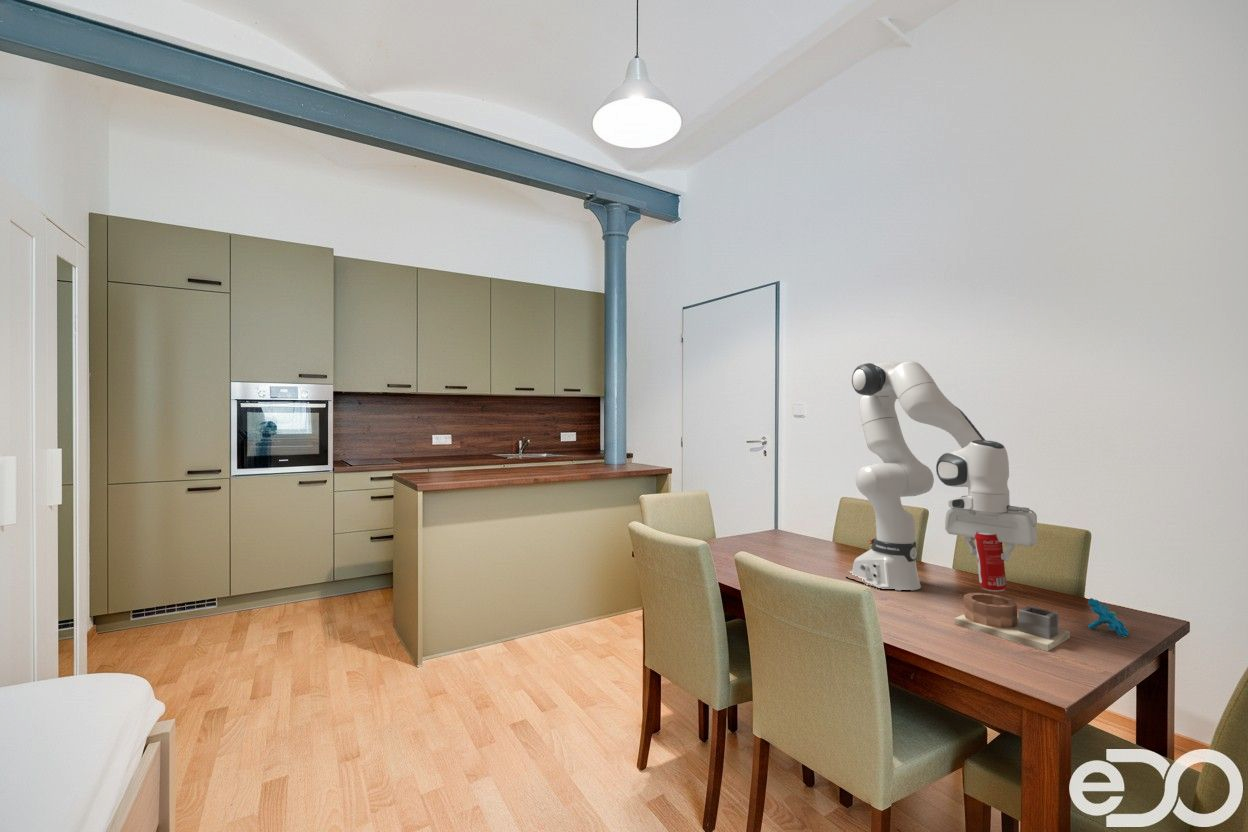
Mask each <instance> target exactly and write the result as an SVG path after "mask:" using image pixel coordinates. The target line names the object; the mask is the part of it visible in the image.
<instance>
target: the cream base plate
mask: <svg viewBox="0 0 1248 832" xmlns="http://www.w3.org/2000/svg"><path fill="white" fill-rule="evenodd" d="M1059 620H1060V619H1059V612H1056V611H1052V610H1049V609H1044V608H1040V607H1035V606H1032V605H1027V606H1026V607H1023V608H1021V609H1019V610H1018V604H1017V602H1016V601H1015V600H1013V599H1012V598H1008V597H1006V596H1002V595H998V594H993V593H992V594H991V593H984V592H968V593H966V594H964V595H963V614H961V615H959V616H957V617H954V620H953V622H954V625H957V626H960V627H962V628H963V627H964V628H967V629H970V630H974V631H978V632H979V633H984V634H986V635H987V634H988V635H990V636H994V637H998V638H1002V639H1004V640H1008V641H1011V642H1014V643H1018V644H1020V645H1021V644H1022V645H1023V646H1024V645H1025V646H1029V647H1032V648H1035V649H1038V650H1042V651H1045V652H1048V651H1050V650H1053V649H1054V648H1056V647H1057V646H1059V645H1060V644H1062V643H1063V642H1064V643H1065V642H1066V641H1067V640H1068V639H1070V638H1071V632H1070V631H1069V630H1065V629H1062V628H1059V623H1060V622H1059Z"/></svg>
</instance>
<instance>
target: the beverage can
mask: <svg viewBox="0 0 1248 832" xmlns="http://www.w3.org/2000/svg"><path fill="white" fill-rule="evenodd" d="M974 541H975V542H974V544H975V547H976V553H977V555H976V561H977V571H978V582H979V587H980V588H981V589H982V590H985V591H988V592H995V593H996V592H1003V591H1005V590H1006V589H1007V579H1006V578H1007V577H1006V569H1005V568H1006V567H1005V560H1001V553H1003V552H1004V547H1003V542H999V541H998V538H997V535H996V534H989V533H982V532H976V535H975V538H974Z"/></svg>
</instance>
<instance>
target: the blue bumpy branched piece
mask: <svg viewBox="0 0 1248 832" xmlns="http://www.w3.org/2000/svg"><path fill="white" fill-rule="evenodd" d="M1101 603H1102V602H1101V601H1100V600H1098V599H1094V598H1092V597H1090V598H1089V599H1088V605H1089V606H1090V607H1091V611H1092V612H1093V613H1094V614H1097V615H1098V618H1097V620H1095V621H1093V622H1092V623H1090V624H1088V625H1087V627H1088V628H1089V629H1090V628H1093V629H1095V628H1097V627H1098V626H1099V625H1100V626H1102V624H1103V625H1106V624H1108V625H1107V627H1108V628H1109V630H1111V631H1114V630H1115V633H1116V634H1117V635H1118V636H1120V637H1122V636H1123V637H1124V636H1127V637H1129V636H1130V635H1129V630H1128V629H1127V628H1126V627H1125V626H1126V625H1125V624H1124V622H1122V621H1121V620H1119V619H1118V616H1117V613H1116V612H1115V611H1113V610H1111V611H1109V608H1108V606H1106V605H1105V604H1101Z"/></svg>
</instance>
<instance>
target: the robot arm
mask: <svg viewBox="0 0 1248 832" xmlns="http://www.w3.org/2000/svg"><path fill="white" fill-rule="evenodd" d="M851 385H852V388H853V390H854V391H855V392H856V393H857V394H859V395H862V396H861V397H860V400H859V413H860V414H859V415H860V421H861V427H862V430H863V433H864V438H865V442H866V446H867V449H868V450H870V452H871V453H873V454H875V455H877V456H878V457H879V458H880V459H881V461H882V462H880V463H879V462H878V463H877V462H874V463H872V464H869V465H868V464H867V465H863V466H862V467H860V468H859V469H858V471H857V473H856V476H855V484H856V487H857V489H858V492H860V493H861V494H862V495H863V496H864V497H866V498H867V500H868V501H869V503H870V504H871V507H872V508H873V509H872V510H873V512H874V513H873V514H874V516H875V530H876V531H875V533H876V534H875V535H876V537H875V538H873V539H870V540H869V542H868V545H870V544H871V548H870V549H868V550H867V551H866V552H863V553H862V554H860V555H859V556H856V558H854V561H853V563H852V570H850V571H848V572H850V573H852V575H855V576H858V577H859V578H862V581H863V579H864V580H865V582H867V583H870V584H871V585H872V584H873V585H874V586H876V587H878V588H882V589H895V590H894V591H901V590H911V591H917V590H920V589H921V588H922V585H921V582H920V578H919V575H918V570H917V569H918V568H917V562H916V561H917V554H918V553H917V542H916V541H915V538H916V537H915V536H916V535H915V534H916V533H915V532H916V531H915V529H916V528H915V527H916V526H915V525H916V524H915V523H916V522H915V521H916V520H915V518H914V516H913V515H912V513H910V511H908V510H906V509H904V507H903V504H902V500H901V498H902V497H916V496H920V495H923V494H926V493H928V492H930V491H931V490H932V488H933V486H934V483H935V478H934V477H935V476H934V474H933V472H932V470H931V469H930V467H929V466H927V465H926V464H924V463H922V462H921V461H920V460H919V459H918V458H917V457H916V456H915V454H913V452H912V451H911V450H910V448H909V446H908V445H907V443H906V441H905V437H904V434H903V432H902V428H901V425H900V422H899V418H898V417H899V416H898V414H897V411H896V406H895V404H896V401H897V399H898V402H899V404H900V406H901V407H902V409H903V411H904V412H905V413H906V416H908V417H909V418H910V419H911V420H913V421H914V422H918V423H919V424H925V425H927V426H928V425H929V426H932V427H936V428H938V429H941V430H943V431H945V432H946V433H948V434H950V436H952V437H953V438H954V440H955V441H956V442H957V444H958V445H959V446H960V447H961V448H960V449H957V450H954V451H950V452H946V453H943V454H942V455H941V456H940V457H939V458H938V460H937V462H936V465H935V468H936V469H935V470H936V471H935V472H936V475H937V477H938V479H939V481H940V482H941V483H942V484H943V485H945V486H948V487H952V488H964V487H965V488H968V490H967V491H968V492H967V493H968V494H967V495H962V496H961V497H955V498H951V499H949V500H948V501H947V505H948V509H947V510H946V513H945V520H944V527H945V528H944V529H945V531H946V533H947V534H949V535H953V536H960V537H964V541H965V543H966V544H967V546H968V548H969V554H970V555H971V556H972V555H973V556H977V553H976V544H975V542H974V541H975V535H976V532H982V533H989V534H996V535H997V538H998V541H999V542H1002V544H1004V547H1005V548H1006V549H1005V551H1003V553H1001V560H1004V562H1008V561H1010V558H1011V557H1010V556H1011V553H1012V551H1013V550H1014V549H1015V548H1016V545H1017V546H1024V547H1032V546H1035V545H1036V544H1037V543H1038V536H1039V535H1038V530H1037V523H1038V515H1037V513H1036V512H1035V511H1034V510H1032V509H1030V508H1029V507H1020V506H1014V505H1011V504H1010V503H1011V502H1010V490H1009V485H1008V481H1009V478H1010V467H1009V466H1010V463H1009V456H1008V451H1007V448H1006V446H1005V445H1004V444H1002V443H1000V442H998V441H994V440H986V439H985V437H984V436H983V435H982V434H981V433H980V431H979V430H978V429H977V428H976V426H975V425H974V424H973V422H972V421H971V420H970V419H969V417H967V415H966V414H965V413H964V412H963V411H962V410H961V409H960V408H959V407H957V406H956V405H955V404H954V403H952V402H951V400H949V399H948V397H947V396H946V395H944V393H943V392H942V390H941V389H940V388H939V386H938V385H937V383H936V382H935V380H934V379H933V377H932V376H931V375H930V373H929V372H928V371H927V370H926V368H925V367H923V366H922V365H921V364H920V363H919V362H918V361H913V360H909V361H903V362H897V361H884V362H874V363H871V362H869V363H864V364H860V365H858V366H856V367H855V368H854V370H853V373H852V375H851ZM865 586H868V584H866V585H865Z"/></svg>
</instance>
